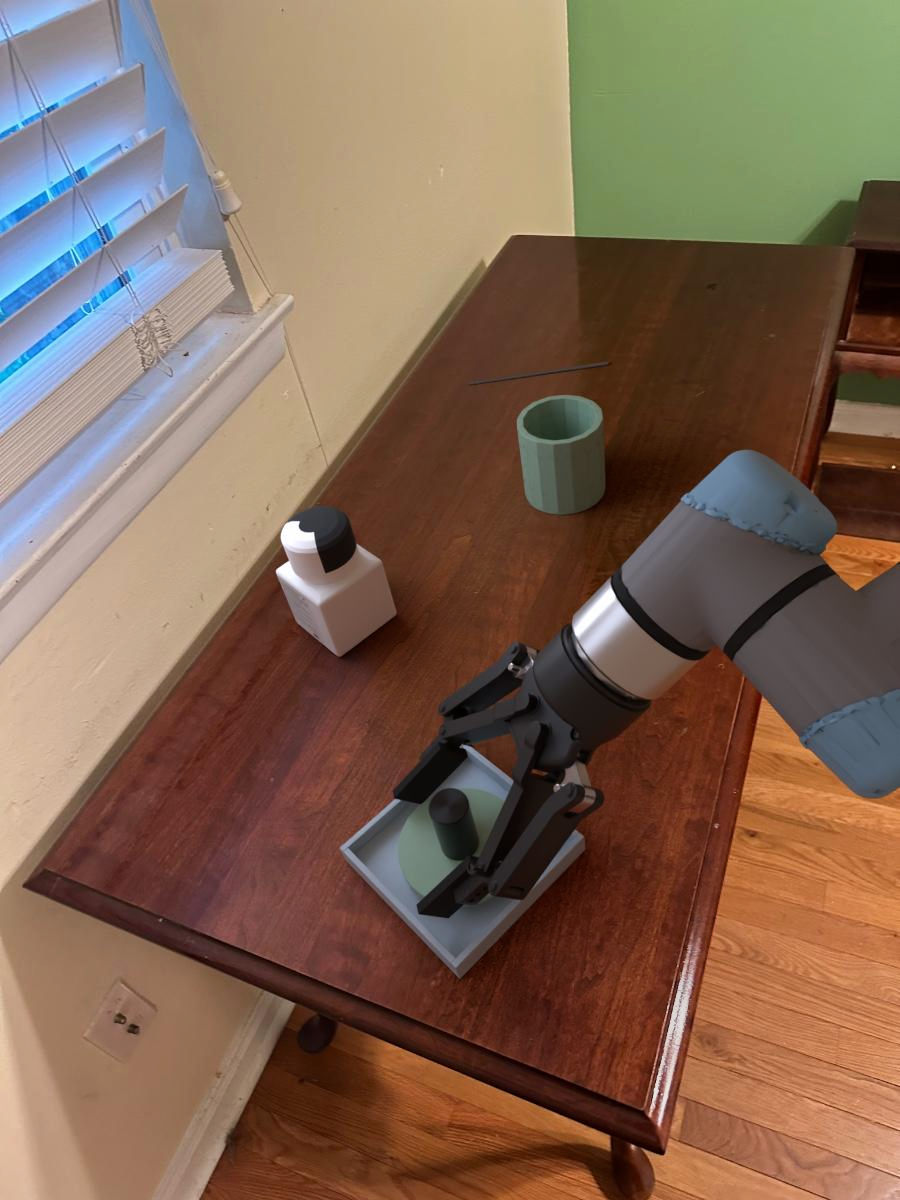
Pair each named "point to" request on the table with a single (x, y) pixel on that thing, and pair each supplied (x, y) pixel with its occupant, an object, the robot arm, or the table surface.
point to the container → (333, 580)
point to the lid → (445, 835)
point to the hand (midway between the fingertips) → (419, 851)
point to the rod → (540, 373)
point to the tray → (446, 937)
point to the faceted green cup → (562, 454)
